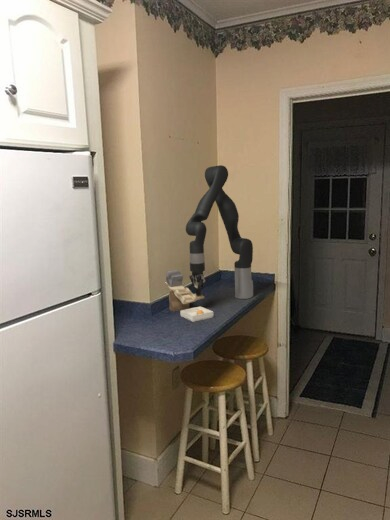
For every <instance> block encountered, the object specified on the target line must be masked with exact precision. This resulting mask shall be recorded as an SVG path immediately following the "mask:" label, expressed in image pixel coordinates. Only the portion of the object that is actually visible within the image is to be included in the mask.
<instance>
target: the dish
mask: <svg viewBox="0 0 390 520" xmlns="http://www.w3.org/2000/svg"><path fill="white" fill-rule="evenodd" d="M198 310H202V311H203V312H204V313H203V314H198V315H197V311H198ZM179 312H180V317H182V318H183V319H185V320H187V321H190V322H192V323H194V322H200V321H203V320H209V319H211V318H214V311H213V310H211V309H208V308H206V307H203V306H197V307H190V308H188V309H183V310H179Z"/></svg>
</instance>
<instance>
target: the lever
mask: <svg viewBox="0 0 390 520" xmlns="http://www.w3.org/2000/svg"><path fill="white" fill-rule="evenodd" d="M183 279H184V274H182V272H181V271H180V270H179V269H175V270H169V271H166V277H165V281H166V282H165V281H164V284H165V283H166V284H165V285H166V286H167V287H168V289H169V290H172V291H173V293H174V294H175V295H176V297H177V298H178V299H179V300H180V301H181V302H182V303H183V304H186V303H189V304H190V303H191V304H192V303H194V302H196V301H199V300H203V299H205V295H203V293H201V295H199V296H197V295H196V293H193V292H192V290H190V289H189V287H186V289H185V288H184V286H183Z"/></svg>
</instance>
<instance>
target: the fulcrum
mask: <svg viewBox="0 0 390 520" xmlns="http://www.w3.org/2000/svg"><path fill="white" fill-rule="evenodd" d="M183 287H184V286H183ZM184 288H185V289H186V288H187V287H184ZM168 290H169V291H168V292H169V293H168V300H169V301H168V302H169V310H170V311H171V312H173V313H174V312H177V311H179V312H180V311H181V310H186V309H190V308H191V307H190V303H186V304H183V303H182V302H181V301H180V300H179V299H178V298H177V297H176V295H175V294H174V293H173V291H172V290H170V289H168Z"/></svg>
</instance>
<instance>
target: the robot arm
mask: <svg viewBox="0 0 390 520" xmlns="http://www.w3.org/2000/svg"><path fill="white" fill-rule="evenodd" d="M228 178H229V170H228V168H227V167H226V166H224V165H222V164H221V165H219V164H218V165H214V166H209V167H207V168H206V169H205V170H204V179H205V182H206V183H207V186H208V190H207V191H206V192H205V194H204V195H203V196H202V197H201V198H200V200H199V202H198V204H197V206H196V209H195V211H194V213H193V214H192V215H191V217H190V218H189V219H188V221H187V223H186V225H185V233H186V234H187V235H188V236H191V237H193V236H194V237H195V239H194V240H191V241H190V242H189V271H190V272H191V275H189V280H190V281H191V283H192V284H191V285H192V286H193V287H194V288H195V294H196V295H197V296H199V295H201V294H202V288H204V287H205V284H206V282H207V278H205V277H204V271H206V263H205V262H206V260H205V259H206V258H205V248H204V244H205V241H206V240H205V239H206V235H207V226H206V224H205V223H204V221H207V220H208V218H209V216H210V213H211V211H212V208H213V205H214V203H216V205H217V208H218V212H219V214H220V215H219V216H220V217H221V220H222V222H223V225H224V228H225V232H226V234H227V238H228V241H229V246H230V248H231V251H232V253H234V254H236V255H238V257H239V258H238V260H235V262H234V265H233V266H234V296H235V298H236V299H239V300H246V299H251V298H252V297H254V281H253V279H252V262H253V260H254V258H253V256H254V255H253V254H254V250H253V249H254V247H253V242H252V241H251V240H250V239H249V238H247V237H246V238H245V237H244V238H243V237H242V236H241V235H240V231H239V226H238V224H239V215H240V214H239V211H238V208H237V206H236V204H235V202H234V201H233V199H232V198H231V197H230V196H229V195H228V194H227V193H226V192H225V190H224V189H223V187H224V186H225V184H226V183H227V180H228Z"/></svg>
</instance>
